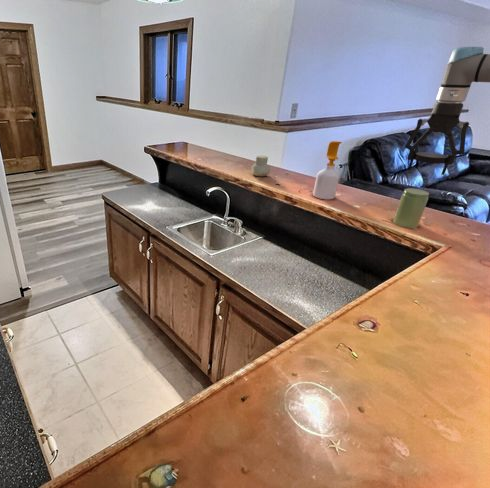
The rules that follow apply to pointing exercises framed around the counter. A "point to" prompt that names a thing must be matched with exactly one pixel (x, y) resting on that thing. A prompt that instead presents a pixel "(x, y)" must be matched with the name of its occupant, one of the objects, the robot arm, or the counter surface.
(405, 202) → the jar
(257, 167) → the air freshener
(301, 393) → the counter surface
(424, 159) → the lid
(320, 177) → the soap bottle
